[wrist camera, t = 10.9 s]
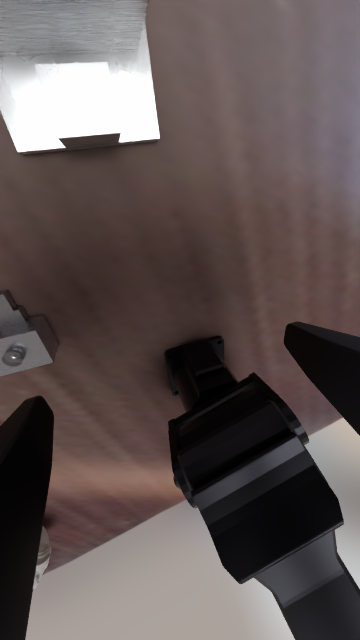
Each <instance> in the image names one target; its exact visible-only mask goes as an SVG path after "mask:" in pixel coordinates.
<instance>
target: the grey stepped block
mask: <svg viewBox="0 0 360 640" xmlns="http://www.w3.org/2000/svg"><path fill="white" fill-rule="evenodd" d="M58 346H59V343H58V341H57V339H56V337H55V335H54V333H53V331H52V329H51V327H50V325H49V323H48V321H47V320H46V318H45V316H44V314H43V315H39V316H34V317H30V318H29V317H28V315H27V313H26V312H25V310H24V308H23V306H22V305H21V306H17V305H16V304H15V302H14V300H13V298H12V297H11V295H10V293H9V292H8V290H6V291H1V292H0V376H4V375H7V374H11V373H15V372H19V371H23V370H26V369H30V368H34V367H38V366H42V365H45V364H49V363H53V362H54V359H55V355H56V352H57V349H58Z"/></svg>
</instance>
